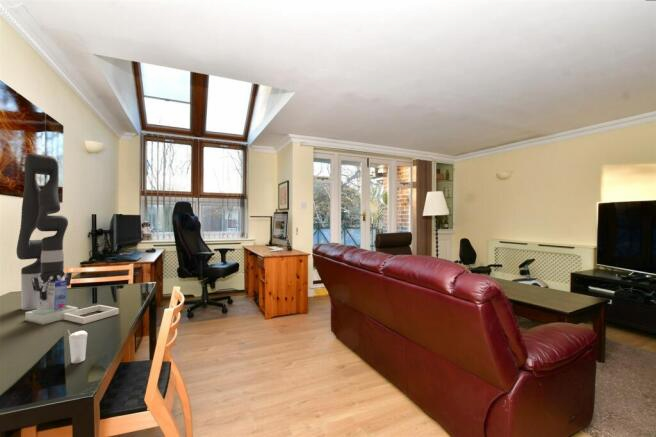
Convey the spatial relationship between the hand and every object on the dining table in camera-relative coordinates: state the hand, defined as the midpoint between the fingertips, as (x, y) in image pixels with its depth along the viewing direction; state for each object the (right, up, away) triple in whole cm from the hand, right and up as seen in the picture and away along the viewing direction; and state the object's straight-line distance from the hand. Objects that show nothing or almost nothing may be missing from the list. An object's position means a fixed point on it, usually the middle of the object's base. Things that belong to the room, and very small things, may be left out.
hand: (52, 298), depth 135 cm
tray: (0, -9, 0) cm, 9 cm away
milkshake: (+44, -9, -40) cm, 60 cm away
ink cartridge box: (0, -5, 0) cm, 5 cm away
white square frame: (+16, -9, +2) cm, 18 cm away
